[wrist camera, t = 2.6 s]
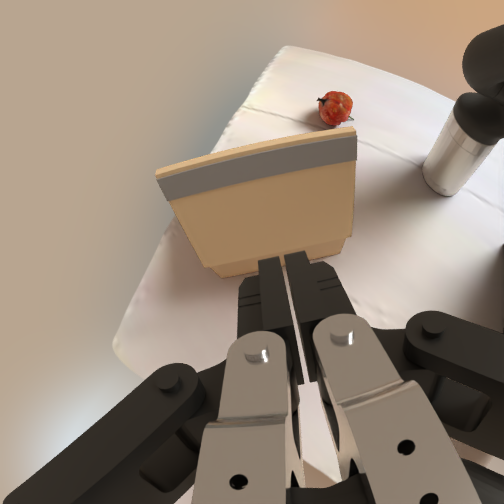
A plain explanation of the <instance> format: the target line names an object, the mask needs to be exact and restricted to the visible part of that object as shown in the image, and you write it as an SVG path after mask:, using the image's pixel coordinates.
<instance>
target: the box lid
mask: <svg viewBox="0 0 504 504" xmlns="http://www.w3.org/2000/svg"><path fill="white" fill-rule="evenodd" d="M356 160H357V135H356V130H355V129H354V128H353V126H351V127H343V128H336V129H330V130H323V131H317V132H311V133H305V134H300V135H294V136H289V137H283V138H278V139H273V140H269V141H264V142H259V143H255V144H250V145H246V146H241V147H237V148H233V149H229V150H225V151H221V152H217V153H213V154H209V155H205V156H202V157H198V158H194V159H191V160H187V161H183V162H180V163H176V164H173V165H170V166H166V167H163V168H160V169H157V170H156V174H155V175H156V178H157V182H158V184H159V186H160V188H161V190H162V192H163V193H164V196H165V197H166V199H167V201H169V203H170V205H171V207H172V209H173V211H174V213H175V215H176V216H177V218H178V220H179V222H180V224H181V226H182V228H183V230H184V231H185V233H186V235H187V237H188V239H189V241H190V243H191V244H192V246H193V248H194V250H195V252H196V254H197V255H198V257H199V259H200V261H201V263H202V264H203V266H204V268H207V267H212V266H217V265H222V264H226V263H231V262H236V261H240V260H245V259H250V258H255V257H259V256H264V255H269V254H273V253H278V252H283V251H287V250H292V249H297V248H301V247H306V246H311V245H315V244H320V243H325V242H329V241H334V240H339V239H343V238H348V237H351V234H352V222H353V208H354V191H355V168H356Z"/></svg>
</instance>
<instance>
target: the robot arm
mask: <svg viewBox="0 0 504 504" xmlns="http://www.w3.org/2000/svg"><path fill="white" fill-rule="evenodd" d="M462 68H463V74H464V77H465V79H466V81H467V83H468V84H469V85H470V86H471V87H472V88H473V89H474V90H475V91H476V92H478V93H472V92H471V93H470V92H469V93H464V94H462V95H461V96H460V97H459V98H458V99H457V101H456V103H455V105H454V107H453V109H452V111H451V113H450V115H449V117H448V119H447V121H446V123H445V125H444V127H443V129H442V131H441V133H440V135H439V137H438V138H437V140H436V142H435V144H434V146H433V148H432V149H431V151H430V153H429V155H428V157H427V158H426V160H425V162H424V164H423V167H422V172H423V176H424V179H425V181H426V182H427V184H428V185H429V186H430V187H431V188H432V189H433V190H434V191H435V192H437V193H439V194H441V195H444V196H452V195H455V194H456V193H457V192H458V191H459V190H460V189H461V188H462V186H463V185H464V184H465V183H466V182H467V181H468V179H469V178H470V177H471V176H472V175H473V173H474V172H475V171H476V170H477V168H478V167H479V166H480V165H481V163H482V162H483V161H484V160H485V158H486V157H487V156H488V154H489V153H490V152H491V150H492V149H493V148H494V146H495V145H496V144H497V142H498V141H499V140H500V139H502V138H504V25H501V26H498V27H496V28H493V29H490V30H488V31H486V32H483V33H481V34H479V35H477V36H476V37H475V38H474V39H473V40H472V41H471V42H470V43H469V45H468V46H467V48H466V50H465V53H464V56H463V61H462ZM284 260H285V265H286V270H287V275H288V280H289V286H290V291H291V296H292V301H293V306H294V310H295V315H296V319H297V324H298V329H299V333H300V338H301V342H302V347H303V352H304V357H305V361H306V366H307V371H308V376H309V381H310V382H315V381H317V382H318V386H319V391H320V398H321V405H322V408H323V411H324V414H325V418H326V421H327V424H328V427H329V431H330V434H331V437H332V441H333V444H334V447H335V451H336V454H337V458H338V463H339V469H340V474H341V478H342V481H341V482H339V483H337V484H335V485H333V486H331V487H327V488H305V479H304V472H303V461H302V442H301V425H300V410H299V402H300V397H299V391H298V385H301V384H304V378H303V373H302V367H301V362H300V356H299V351H298V346H297V340H296V335H295V330H294V325H293V320H292V315H291V310H290V305H289V300H288V295H287V291H286V286H285V281H284V276H283V272H282V267H281V262H280V258H279V256H276V257H271V258H266V259H262V260H258V270H259V275H257V276H252V277H247V278H245V279H244V280H243V282H242V284H241V285H240V287H239V294H238V298H239V300H238V327H237V340H236V341H235V342H234V343H233V344H232V345H231V347H230V348H229V350H228V354H227V359H226V360H224V361H223V362H221V363H220V364H218V365H216V366H213V367H211V368H208V369H206V370H203V371H200V372H198V373H196V371H195V370H194V369H193V368H192V367H191V366H189V365H187V364H183V363H173V364H168V365H165V366H163V367H161V368H159V369H158V370H156V371H155V372H154V373H152V374H151V375H150V376H149V377H148V378H147V379H146V380H144V381H143V382H142V383H141V384H140V385H139V386H138V387H136V388H135V389H134V390H133V391H132V392H131V393H130V394H129V395H127V396H126V397H125V398H124V399H123V400H122V401H120V402H119V403H118V404H117V405H116V406H115V407H114V408H112V409H111V410H110V411H109V412H108V413H107V414H106V415H104V416H103V417H102V418H101V419H100V420H98V421H97V422H96V423H95V424H94V425H93V426H91V427H90V428H89V429H88V430H87V431H86V432H84V433H83V434H82V435H81V436H80V437H78V438H77V439H76V440H75V441H74V442H72V443H71V444H70V445H69V446H68V447H67V448H65V449H64V450H63V451H62V452H61V453H59V454H58V455H57V456H56V457H54V458H53V459H52V460H51V461H50V462H49V463H47V464H46V465H45V466H44V467H42V468H41V469H40V470H39V471H37V472H36V473H35V474H34V475H33V476H31V477H30V478H29V479H28V480H26V481H25V482H24V483H23V484H21V485H20V486H19V487H18V488H16V489H15V490H14V491H13V492H11V493H10V494H9V495H8V496H7V497H6V498H5V500H4V501H3V504H174V503H175V502H176V501H177V500H178V499H179V498H180V497H181V496H182V495H183V494H184V493H185V492H186V491H187V490H188V489H189V488H190V487H191V486H192V485H193V484H194V483H195V484H194V490H193V496H192V502H191V504H504V476H503V475H501V474H498V473H496V472H494V471H492V470H490V469H487V468H485V467H483V466H481V465H479V464H477V463H474V462H472V461H469V460H466V459H463V458H460V457H459V455H458V453H457V451H456V449H455V447H454V445H453V443H452V441H451V440H450V438H449V437H452V438H454V439H456V440H458V441H460V442H463V443H465V444H467V445H469V446H472V447H474V448H476V449H478V450H481V451H483V452H485V453H488V454H490V455H493V456H495V457H498V458H500V459H502V460H504V334H502V333H499V332H497V331H494V330H491V329H488V328H485V327H483V326H480V325H477V324H474V323H471V322H469V321H466V320H463V319H460V318H457V317H454V316H452V315H449V314H446V313H443V312H439V311H424V312H421V313H418V314H416V315H414V316H413V317H412V318H411V319H410V320H409V321H408V322H407V324H406V328H405V329H390V330H384V329H377V328H373V327H370V325H369V324H368V322H367V321H366V320H365V319H363V318H361V317H359V316H357V315H356V313H355V311H354V308H353V306H352V304H351V302H350V300H349V298H348V296H347V294H346V292H345V290H344V288H343V286H342V284H341V282H340V280H339V279H338V276H337V274H336V272H335V270H334V268H333V267H332V266H330V265H328V264H327V263H325V262H324V261H322V262H317V263H313V264H310V262H309V259H308V257H307V254H306V252H305V250H303V251H299V252H294V253H290V254H285V255H284ZM448 378H449V379H448ZM450 379H451V380H450ZM455 381H456V382H455ZM457 382H458V383H457ZM460 383H461V384H460ZM462 384H463V385H462ZM464 385H465V386H464ZM467 386H468V387H467ZM469 387H470V388H469ZM472 388H473V389H472ZM474 389H475V390H474ZM476 390H477V391H476ZM479 391H480V392H479ZM481 392H482V393H481Z"/></svg>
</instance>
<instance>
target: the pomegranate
mask: <svg viewBox="0 0 504 504" xmlns="http://www.w3.org/2000/svg"><path fill="white" fill-rule="evenodd" d="M317 101H320V102H319V112H320V117H321V118H322V120H323V121H325V122H326V123H327V124H328V125H332V126H334V125H340V123H341V122H345V121H347V120H348V117H350V116H349V115H350V113H351V109H352V105H353V102H352V99H351V98H350V97H349V96H348V95H347V94H345V93H343V92H336V91H330V92H328V93H327V94H325V96H324V97H323V98H321V99H320V98H318V99H317ZM350 118H351V117H350ZM351 119H353V118H351ZM353 120H354V119H353Z"/></svg>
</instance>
